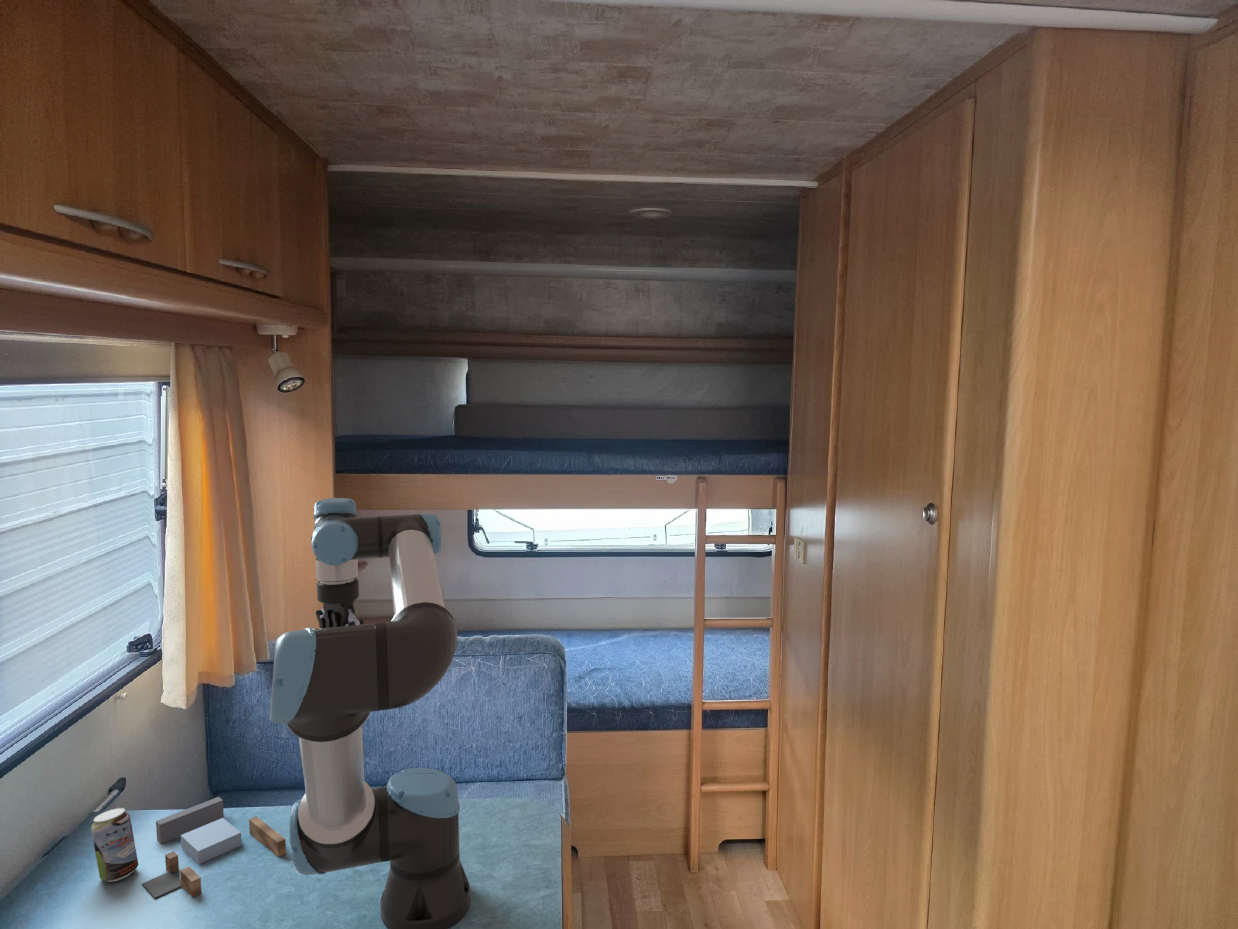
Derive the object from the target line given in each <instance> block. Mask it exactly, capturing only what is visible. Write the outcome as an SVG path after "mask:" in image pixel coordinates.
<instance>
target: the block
mask: <svg viewBox="0 0 1238 929" xmlns="http://www.w3.org/2000/svg"><path fill="white" fill-rule="evenodd" d="M180 844H181V845H180V846H181V849H182V850H183V851H184V852H185V853H186V854H187V855H188V856H189V857H190V858H191V859H192V860H194V862H195V863H197V864H198V865H201V864H202V863H205V862H207V861H209V860H211V859H213V858H216V857H218V856H221V855H224V854H225V853H228V852H229V851H232V850H235V849H237V848H239V847H241V846H243V844H242V832H241V831H240V830H239V829H237V828H236V827H235V826H233V825H232V824H231V822H229V821H228V820H227V819H225V818H221V819H219V820H216V821H214V822H211V823H209V824H207V825H204V826H202V827H199V828H197V829H195V830H192V831H190V832H187V833H185V834H182V835H181V836H180Z"/></svg>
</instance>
